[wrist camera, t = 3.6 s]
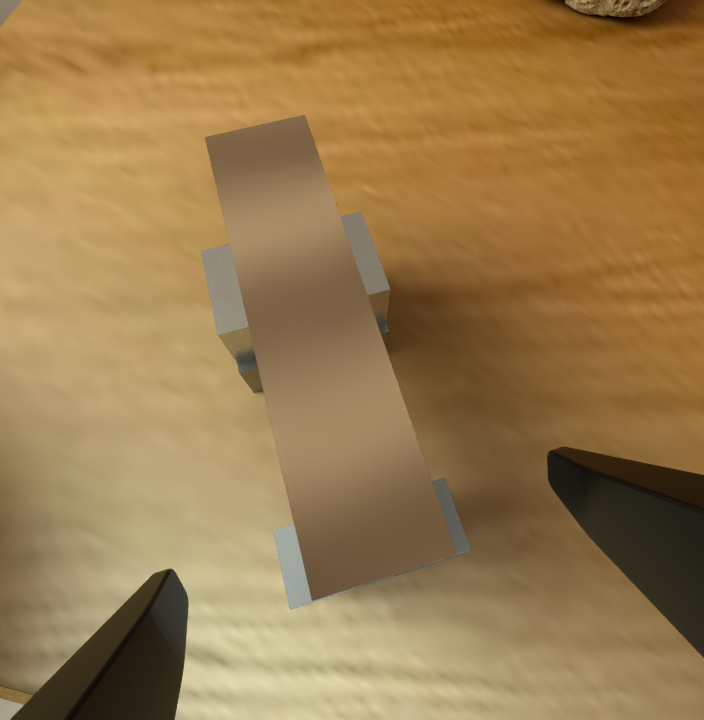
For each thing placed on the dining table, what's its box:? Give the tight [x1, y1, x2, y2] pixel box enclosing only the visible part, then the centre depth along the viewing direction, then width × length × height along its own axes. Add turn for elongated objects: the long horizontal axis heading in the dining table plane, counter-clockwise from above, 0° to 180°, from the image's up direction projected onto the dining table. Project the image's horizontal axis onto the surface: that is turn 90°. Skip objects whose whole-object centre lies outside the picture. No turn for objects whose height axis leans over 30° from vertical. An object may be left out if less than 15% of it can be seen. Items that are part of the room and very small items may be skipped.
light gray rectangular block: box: [273, 478, 471, 610], centre depth 18 cm, size 2×6×6 cm, turn 106°
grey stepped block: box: [201, 211, 390, 393], centre depth 21 cm, size 5×7×6 cm
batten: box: [205, 115, 457, 601], centre depth 15 cm, size 15×4×4 cm, turn 16°
